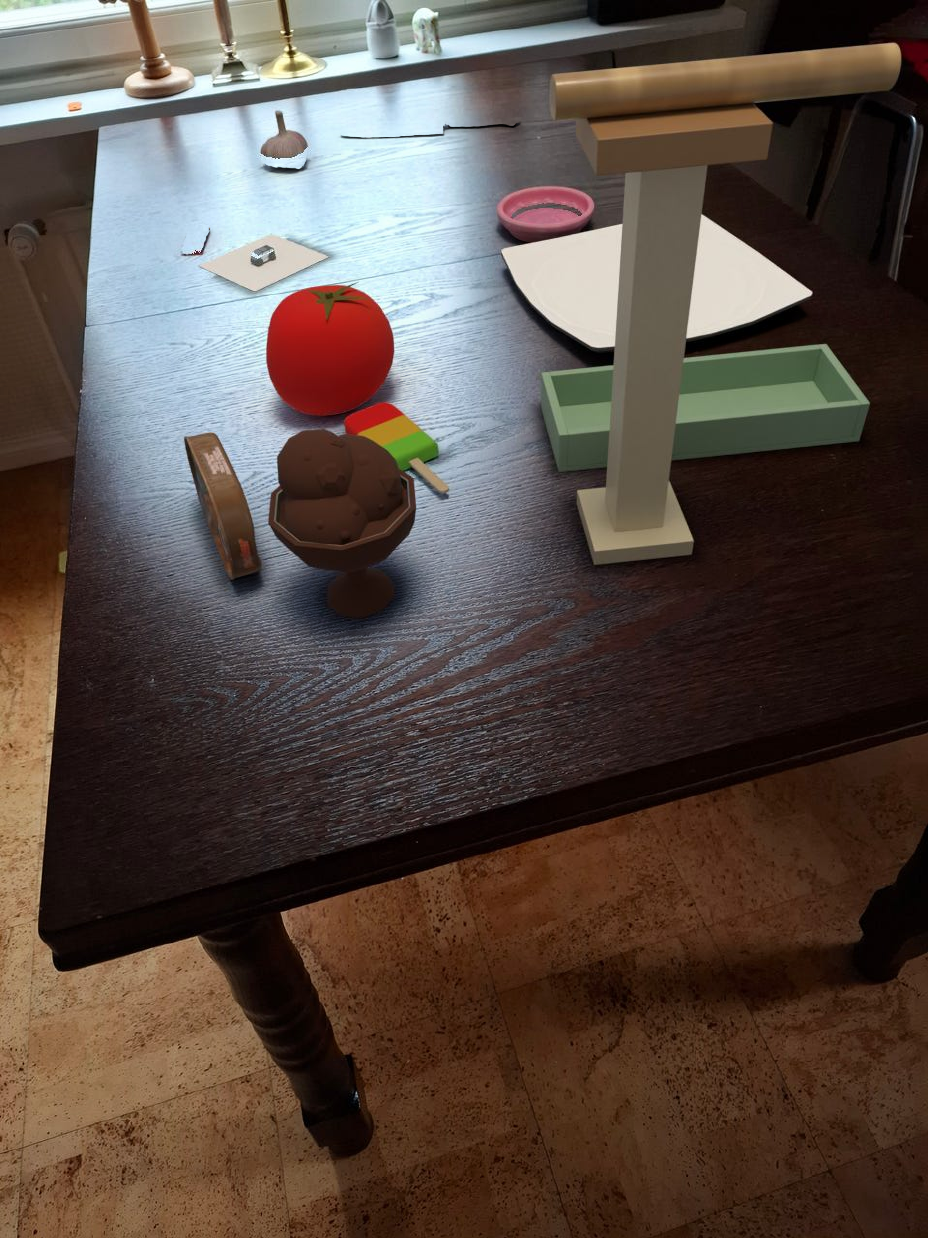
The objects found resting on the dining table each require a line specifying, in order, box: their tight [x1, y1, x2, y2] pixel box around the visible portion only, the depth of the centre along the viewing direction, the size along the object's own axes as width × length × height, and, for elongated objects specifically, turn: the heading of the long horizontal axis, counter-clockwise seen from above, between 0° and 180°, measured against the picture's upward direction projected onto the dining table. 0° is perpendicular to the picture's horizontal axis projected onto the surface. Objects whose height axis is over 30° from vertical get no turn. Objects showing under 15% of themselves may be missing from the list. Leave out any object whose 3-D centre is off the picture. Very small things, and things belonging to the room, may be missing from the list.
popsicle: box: [343, 401, 450, 494], centre depth 85 cm, size 6×15×2 cm, turn 33°
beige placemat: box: [198, 233, 330, 292], centre depth 117 cm, size 12×12×2 cm
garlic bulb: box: [260, 109, 309, 159], centre depth 138 cm, size 8×7×8 cm
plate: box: [500, 213, 813, 354], centre depth 105 cm, size 29×29×3 cm
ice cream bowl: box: [267, 428, 417, 619], centre depth 68 cm, size 11×11×15 cm
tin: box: [183, 432, 262, 580], centre depth 76 cm, size 15×3×8 cm, turn 24°
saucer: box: [496, 185, 595, 243], centre depth 119 cm, size 12×12×3 cm
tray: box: [540, 343, 871, 473], centre depth 85 cm, size 28×11×4 cm, turn 95°
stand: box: [575, 103, 774, 566], centre depth 65 cm, size 10×8×32 cm
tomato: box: [265, 281, 395, 417], centre depth 90 cm, size 12×14×11 cm
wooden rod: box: [549, 42, 902, 122], centre depth 53 cm, size 20×2×2 cm, turn 95°
